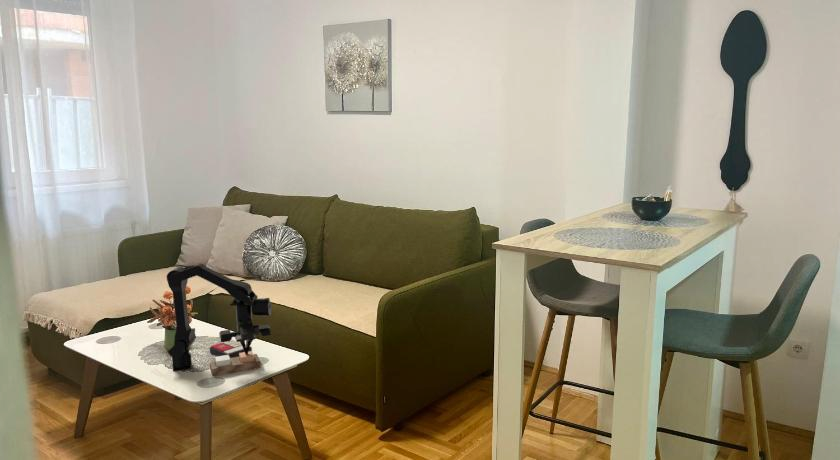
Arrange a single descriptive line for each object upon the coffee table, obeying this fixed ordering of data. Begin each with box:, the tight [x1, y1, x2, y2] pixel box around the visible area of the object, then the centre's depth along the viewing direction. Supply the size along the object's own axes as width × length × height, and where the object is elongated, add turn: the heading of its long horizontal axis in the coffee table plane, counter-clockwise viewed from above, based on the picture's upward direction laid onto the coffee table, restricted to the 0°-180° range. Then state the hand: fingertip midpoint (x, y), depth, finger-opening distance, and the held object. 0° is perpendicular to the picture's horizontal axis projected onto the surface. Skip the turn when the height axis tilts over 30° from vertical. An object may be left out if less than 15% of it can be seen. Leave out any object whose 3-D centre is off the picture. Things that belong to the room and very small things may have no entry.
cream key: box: [214, 355, 231, 367], centre depth 239 cm, size 5×5×4 cm
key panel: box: [209, 353, 262, 377], centre depth 241 cm, size 18×8×3 cm, turn 114°
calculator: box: [209, 339, 253, 358], centre depth 255 cm, size 11×4×15 cm
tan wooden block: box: [239, 350, 255, 363], centre depth 242 cm, size 5×5×4 cm
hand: (246, 353), depth 242 cm, fingers closed
